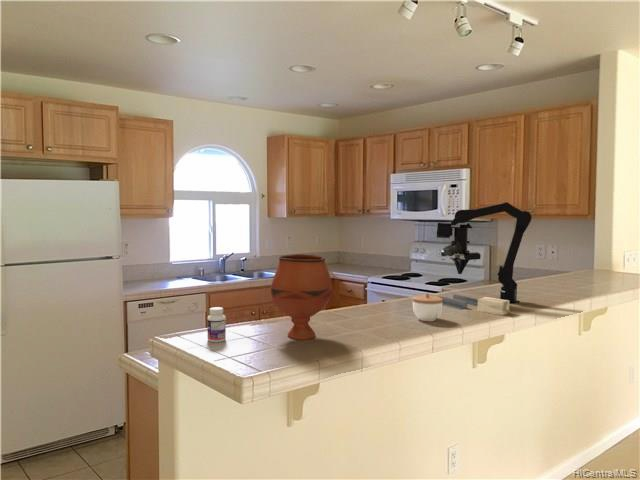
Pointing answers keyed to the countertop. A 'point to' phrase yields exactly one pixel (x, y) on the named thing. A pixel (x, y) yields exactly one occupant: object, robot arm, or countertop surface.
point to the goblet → (301, 290)
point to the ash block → (493, 306)
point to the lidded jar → (427, 307)
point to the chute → (459, 301)
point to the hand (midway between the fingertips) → (459, 274)
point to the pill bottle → (216, 325)
